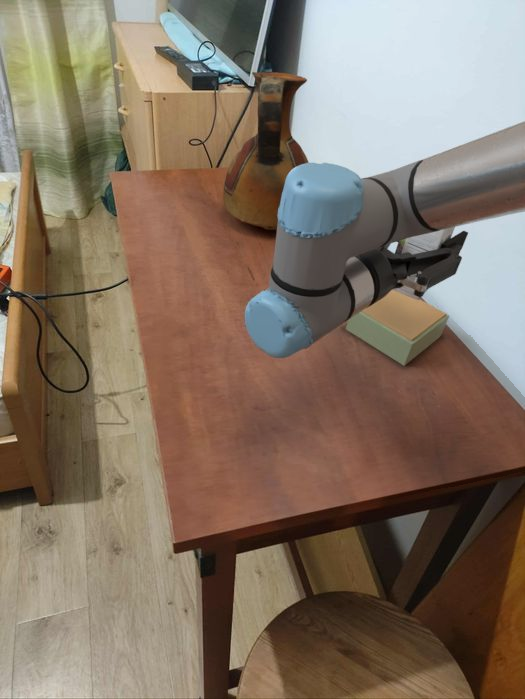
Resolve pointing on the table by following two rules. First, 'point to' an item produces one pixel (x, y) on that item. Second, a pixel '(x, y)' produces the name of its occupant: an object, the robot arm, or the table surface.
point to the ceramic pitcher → (265, 155)
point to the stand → (399, 326)
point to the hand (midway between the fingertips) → (441, 230)
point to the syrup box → (421, 250)
